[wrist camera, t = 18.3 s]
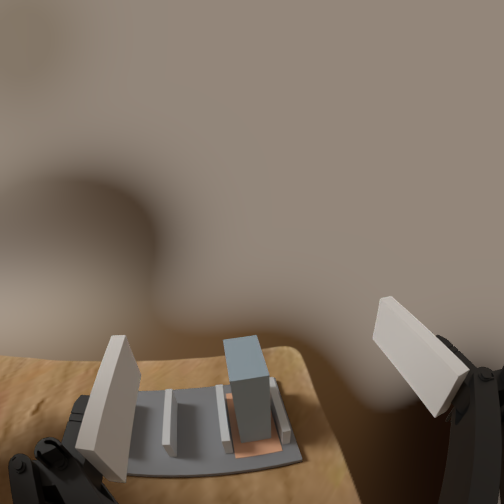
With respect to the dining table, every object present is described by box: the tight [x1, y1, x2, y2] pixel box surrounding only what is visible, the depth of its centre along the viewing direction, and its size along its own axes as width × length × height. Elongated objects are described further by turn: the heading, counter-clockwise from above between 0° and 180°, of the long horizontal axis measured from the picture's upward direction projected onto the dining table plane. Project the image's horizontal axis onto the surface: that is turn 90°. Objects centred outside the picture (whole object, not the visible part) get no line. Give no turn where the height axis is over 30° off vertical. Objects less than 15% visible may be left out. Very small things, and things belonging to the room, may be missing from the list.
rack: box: [127, 377, 302, 477], centre depth 33 cm, size 25×16×4 cm, turn 99°
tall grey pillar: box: [223, 335, 271, 443], centre depth 32 cm, size 4×7×13 cm, turn 10°
